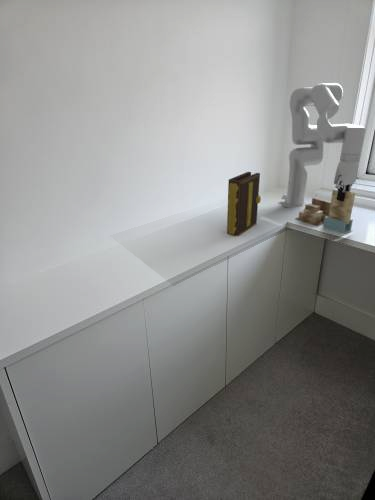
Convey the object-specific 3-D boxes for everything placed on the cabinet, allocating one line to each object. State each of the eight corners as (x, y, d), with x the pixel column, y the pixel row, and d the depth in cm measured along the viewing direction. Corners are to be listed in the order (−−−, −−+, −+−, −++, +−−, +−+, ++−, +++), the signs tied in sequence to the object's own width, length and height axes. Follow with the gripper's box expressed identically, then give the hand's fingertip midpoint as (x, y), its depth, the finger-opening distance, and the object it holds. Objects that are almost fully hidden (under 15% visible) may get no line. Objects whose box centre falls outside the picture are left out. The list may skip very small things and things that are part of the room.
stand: (320, 229, 152) (322, 217, 149) (332, 225, 156) (334, 213, 154) (340, 236, 144) (343, 223, 142) (351, 231, 149) (354, 219, 146)
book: (239, 237, 146) (242, 182, 136) (223, 233, 151) (224, 180, 140) (261, 222, 162) (265, 172, 151) (245, 219, 167) (248, 170, 156)
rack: (293, 220, 163) (296, 203, 159) (311, 214, 170) (313, 197, 166) (316, 228, 153) (319, 210, 149) (333, 221, 160) (337, 203, 156)
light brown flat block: (328, 219, 151) (333, 189, 145) (331, 217, 152) (336, 188, 146) (346, 224, 144) (352, 193, 138) (349, 223, 146) (355, 192, 139)
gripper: (352, 154, 143) (344, 194, 151) (330, 158, 135) (323, 201, 143) (369, 156, 137) (360, 198, 145) (347, 161, 129) (339, 205, 137)
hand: (342, 199), depth 144 cm, fingers closed on light brown flat block, 2 cm apart
